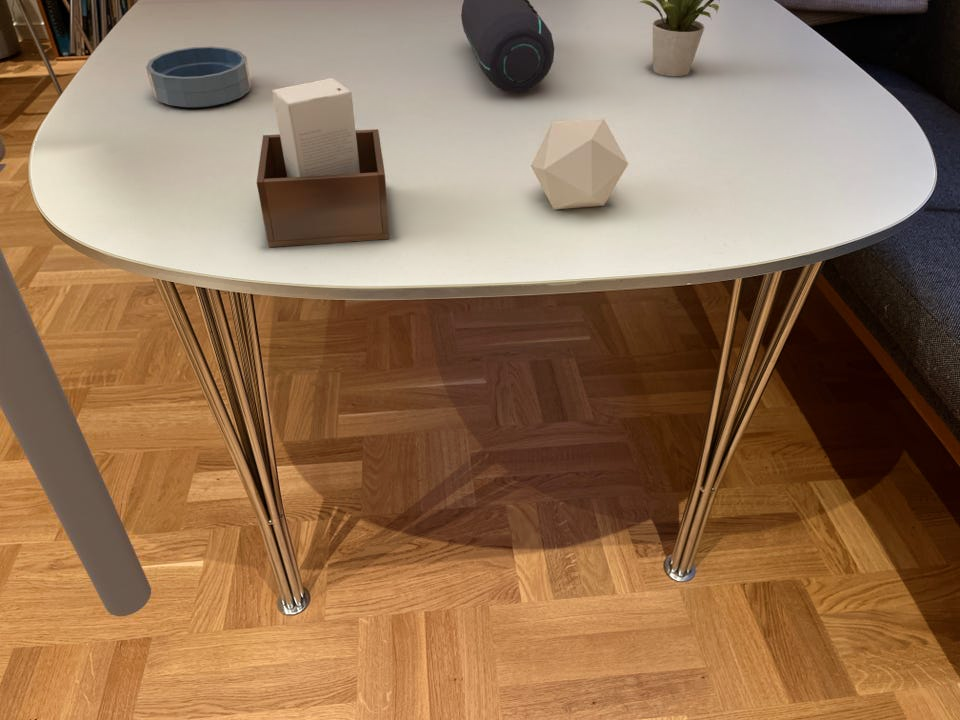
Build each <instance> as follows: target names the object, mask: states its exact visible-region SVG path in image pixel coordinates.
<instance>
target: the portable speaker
mask: <svg viewBox="0 0 960 720" xmlns="http://www.w3.org/2000/svg"><path fill="white" fill-rule="evenodd" d="M460 20H461V24H462V29H463V32H464V34H465V36H466V38H467V41H468V43H469V45H470V47H471V50H472V52H473V54H474V56H475V59H476V61H477V63H478V65H479V67H480V70H481V72H482V73H483V74H484V76H485V77H486V78H487V80H488V81H489V82H490V83H491V84H492V85H493V86H495V88H496V89H498V90H501V91H503V92H507V93H523V92H527V91H529V90H531V89H533V88H534V87H536V86H537V85H539V84H540V83H541V82H542V81H543V80H544V79H545V78H546V77H547V76H548V74H549V72H550V70H551V68H552V66H553V63H554V59H555V44H554V39H553V34H552V32H551V30H550V29H549V28H548V26H547V24H546V23H545V22H544V20H543V18H541V16H540V15H539V14H538V11H537V10H536V9H535V8H534V6H533V5H532V4H531V2H530V1H529V0H463V2H462V5H461V14H460Z"/></svg>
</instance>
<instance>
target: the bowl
mask: <svg viewBox="0 0 960 720" xmlns="http://www.w3.org/2000/svg"><path fill="white" fill-rule="evenodd" d="M248 64H249V63H248V58H247V56H246V55H245V54H244V53H243V52H241V51H239V50H237V49H233V48H230V47H221V46H212V45H211V46H192V47H185V48H178V49H174V50H170V51H167V52H164V53H160V54H158V55H156V56H155V57H152V58H151V59H149V60H148V63H147V64H146V66H145V69H146V72H147V76H148V80H149V84H150V88H151V92H152V95H153V97H154V98H155V99H156V100H157V101H158V102H160V103H162V104H165V105H168V106H172V107H179V108H190V109H191V108H193V109H194V108H195V109H196V108H197V109H198V108H208V107H209V108H210V107H216V106H221V105H223V104H228V103H231V102H233V101H235V100H237V99H241V98H242V97H244V96H245V95H246V94H248V93H249V92H251V86H252V82H251V81H252V80H251V76H250V75H251V74H250V69H249V65H248Z"/></svg>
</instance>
